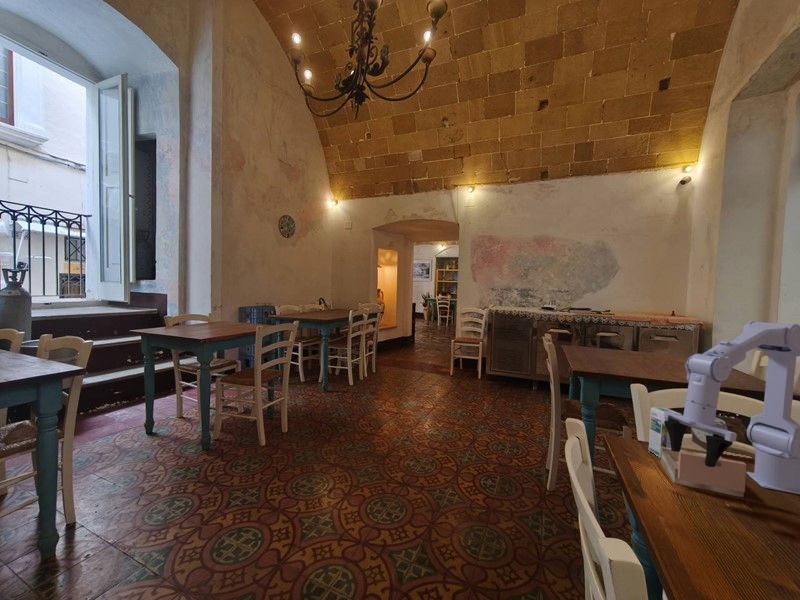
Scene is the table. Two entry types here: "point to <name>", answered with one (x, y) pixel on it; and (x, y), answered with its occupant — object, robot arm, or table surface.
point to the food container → (700, 436)
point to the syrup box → (658, 431)
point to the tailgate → (712, 472)
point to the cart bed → (671, 466)
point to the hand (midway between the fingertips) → (691, 458)
